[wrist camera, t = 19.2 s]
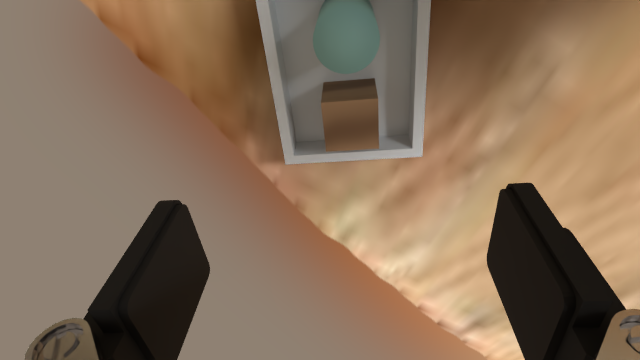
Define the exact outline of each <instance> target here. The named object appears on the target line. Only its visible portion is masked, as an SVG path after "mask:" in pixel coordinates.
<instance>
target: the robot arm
mask: <svg viewBox="0 0 640 360" xmlns="http://www.w3.org/2000/svg"><path fill="white" fill-rule="evenodd" d="M487 265H488V268H489V271H490V273H491V276H492V278H493V281H494V283H495V286H496V288H497V291H498V293H499V296H500V298H501V301H502V303H503V306H504V308H505V311H506V313H507V316H508V318H509V321H510V323H511V326H512V328H513V331H514V333H515V336H516V338H517V341H518V343H519V346H520V348H521V351H522V353H523V356H524V358H525V360H640V310H638V309H629V310H626V308H625V307H624V306H623V304H622V303H621V301H620V300H619V299H618V297H617V296H616V294H615V293H614V291H613V290H612V289H611V287H610V286H609V284H608V283H607V282H606V280H605V279H604V277H603V276H602V275H601V273H600V272H599V270H598V269H597V267H596V266H595V265H594V263H593V262H592V260H591V259H590V258H589V256H588V255H587V253H586V252H585V250H584V249H583V248H582V246H581V245H580V243H579V242H578V241H577V239H576V238H575V236H574V235H573V234H572V232H571V231H570V230H569V229H566V228H563V227H562V226H561V225H560V223H559V222H558V220H557V219H556V217H555V216H554V214H553V213H552V211H551V210H550V209H549V207H548V206H547V204H546V203H545V201H544V200H543V198H542V197H541V195H540V194H539V193H538V191H537V190H536V188H535V187H534V185H533V184H532V183H514V184H508V185H507V187H506V189H502V190H501V191H500V193H499V198H498V203H497V208H496V213H495V218H494V223H493V228H492V233H491V238H490V243H489V248H488V253H487ZM209 273H210V267H209V262H208V260H207V257H206V255H205V252H204V249H203V247H202V244H201V241H200V239H199V237H198V234H197V231H196V228H195V226H194V223H193V220H192V218H191V215H190V213H189V210H188V208H187V206H186V205H184V204H182V203H181V202H180V201H179V200H169V201H159V202H158V203H157V204H156V206H155V208H154V209H153V211H152V212H151V214H150V215H149V217H148V218H147V220H146V221H145V223H144V224H143V226H142V228H141V229H140V231H139V232H138V234H137V235H136V237H135V238H134V240H133V241H132V243H131V244H130V246H129V247H128V249H127V250H126V252H125V253H124V255H123V256H122V258H121V260H120V261H119V263H118V264H117V266H116V267H115V269H114V270H113V272H112V273H111V275H110V276H109V278H108V279H107V281H106V283H105V284H104V286H103V287H102V289H101V290H100V292H99V293H98V295H97V296H96V298H95V299H94V301H93V303H92V304H91V306H90V307H89V309H88V313H87V314H86V316H85V318H84V319H81V318H71V319H66V320H63V321H60V322H58V323H55V324H54V325H52V326H51V327H49V328H47V329H46V330H44V331H43V332H42V333H41V334H40V335H39V336H37V337H36V338H35V340H34V341H33V342H32V343H31V345H30V346H29V348H28V350H27V352H26V354H25V360H177V358H178V356H179V353H180V351H181V348H182V345H183V343H184V340H185V337H186V334H187V332H188V329H189V327H190V324H191V322H192V319H193V316H194V314H195V311H196V308H197V306H198V303H199V300H200V298H201V295H202V293H203V290H204V287H205V285H206V282H207V279H208V277H209Z"/></svg>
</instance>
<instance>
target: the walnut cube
mask: <svg viewBox="0 0 640 360" xmlns="http://www.w3.org/2000/svg"><path fill="white" fill-rule="evenodd" d="M321 110H322V119H323V128H324V137H325V147H326V152H331V151H347V150H364V149H379V115H378V94H377V89H376V83H375V78H370V79H358V80H345V81H332V82H324V83H323V90H322V97H321Z"/></svg>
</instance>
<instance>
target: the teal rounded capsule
mask: <svg viewBox="0 0 640 360" xmlns="http://www.w3.org/2000/svg"><path fill="white" fill-rule="evenodd" d="M379 45H380V33H379V28H378V25H377V21H376V18H375V14H374V10H373V7H372V5H371V3H370V1H369V0H325V1H324V2H323V4H322V6H321V9H320V12H319V15H318V19H317V22H316V26H315V29H314V33H313V47H314V51H315V54H316V56H317V58H318V59H319V61H320V62H321V63H322V64H323V65H324V66H325V67H326V68H328V69H329V70H331V71H333V72H336V73H340V74H351V73H355V72H358V71H360V70H362V69H364V68H365V67H367V66H368V65H369V64H370V63H371V62H372V61H373V59H374V58H375V56H376V54H377V52H378V49H379Z"/></svg>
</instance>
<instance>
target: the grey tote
mask: <svg viewBox="0 0 640 360" xmlns="http://www.w3.org/2000/svg"><path fill="white" fill-rule="evenodd" d="M324 1H325V0H256V5H257V10H258V16H259V21H260V27H261V32H262V38H263V43H264V49H265V54H266V60H267V65H268V71H269V76H270V82H271V87H272V93H273V98H274V104H275V109H276V115H277V120H278V126H279V131H280V137H281V142H282V148H283V153H284V159H285V164H304V163H321V162H338V161H356V160H373V159H390V158H408V157H422V153H423V135H424V117H425V99H426V81H427V63H428V45H429V27H430V9H431V0H369V1H370V3H371V5H372V7H373V10H374V14H375V18H376V21H377V25H378V28H379V33H380V45H379V49H378V52H377V54H376V56H375V58H374V59H373V61H372V62H371V63H370V64H369V65H368V66H367V67H365V68H364V69H362V70H360V71H358V72H355V73H351V74H340V73H336V72H333V71H331V70H329V69H328V68H326V67H325V66H324V65H323V64H322V63H321V62H320V61H319V59H318V58H317V56H316V54H315V51H314V47H313V33H314V29H315V26H316V22H317V19H318V15H319V12H320V9H321V6H322V4H323V2H324ZM370 78H375V83H376V89H377V94H378V115H379V149H364V150H347V151H331V152H326V147H325V137H324V128H323V119H322V110H321V97H322V90H323V83H324V82H332V81H345V80H358V79H370Z"/></svg>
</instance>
